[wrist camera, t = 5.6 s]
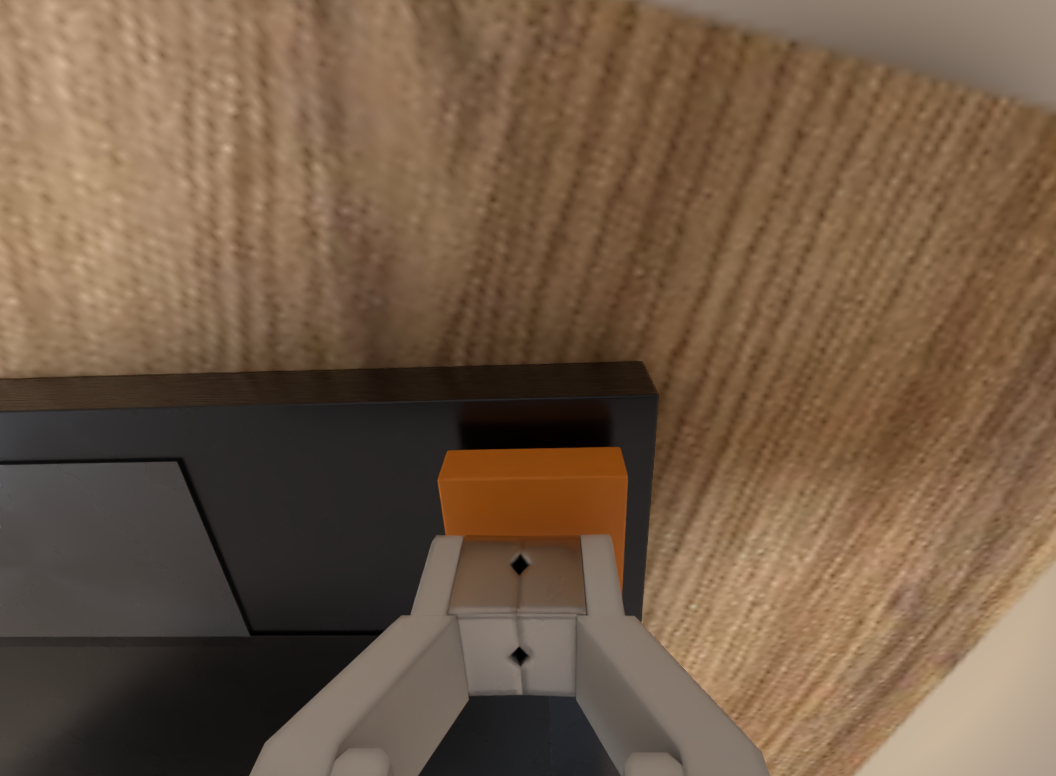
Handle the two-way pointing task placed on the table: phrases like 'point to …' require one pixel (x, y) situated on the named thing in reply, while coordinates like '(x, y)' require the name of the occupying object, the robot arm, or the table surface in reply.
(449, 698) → the robot arm
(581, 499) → the key amber
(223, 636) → the laptop
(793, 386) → the table surface
